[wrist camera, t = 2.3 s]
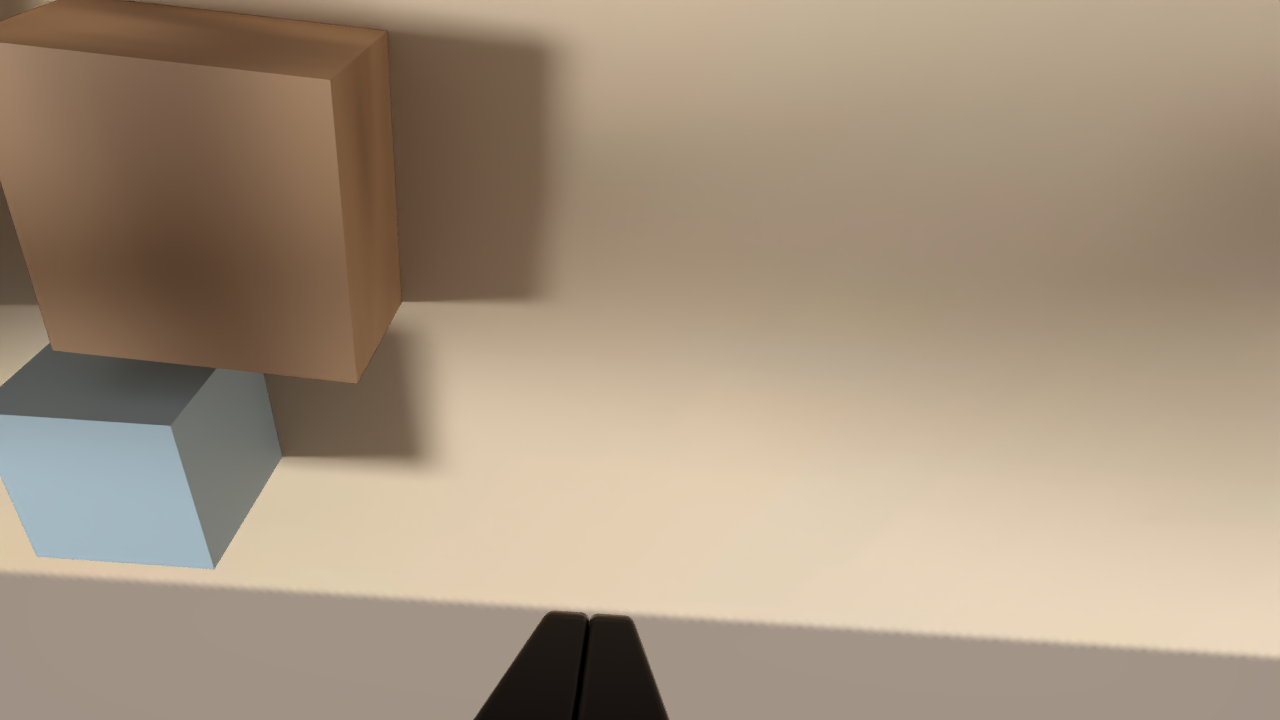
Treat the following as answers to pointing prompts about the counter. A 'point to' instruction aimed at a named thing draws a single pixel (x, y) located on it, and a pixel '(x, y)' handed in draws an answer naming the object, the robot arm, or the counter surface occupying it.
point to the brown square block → (202, 185)
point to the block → (134, 457)
